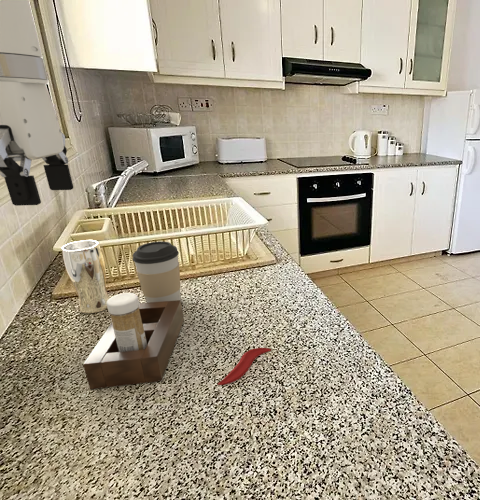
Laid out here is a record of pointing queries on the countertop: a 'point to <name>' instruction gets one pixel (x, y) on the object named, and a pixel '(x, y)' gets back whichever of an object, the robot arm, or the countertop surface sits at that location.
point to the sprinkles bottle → (127, 322)
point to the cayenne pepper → (243, 365)
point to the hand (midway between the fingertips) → (46, 196)
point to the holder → (138, 361)
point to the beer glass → (87, 274)
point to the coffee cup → (158, 271)
